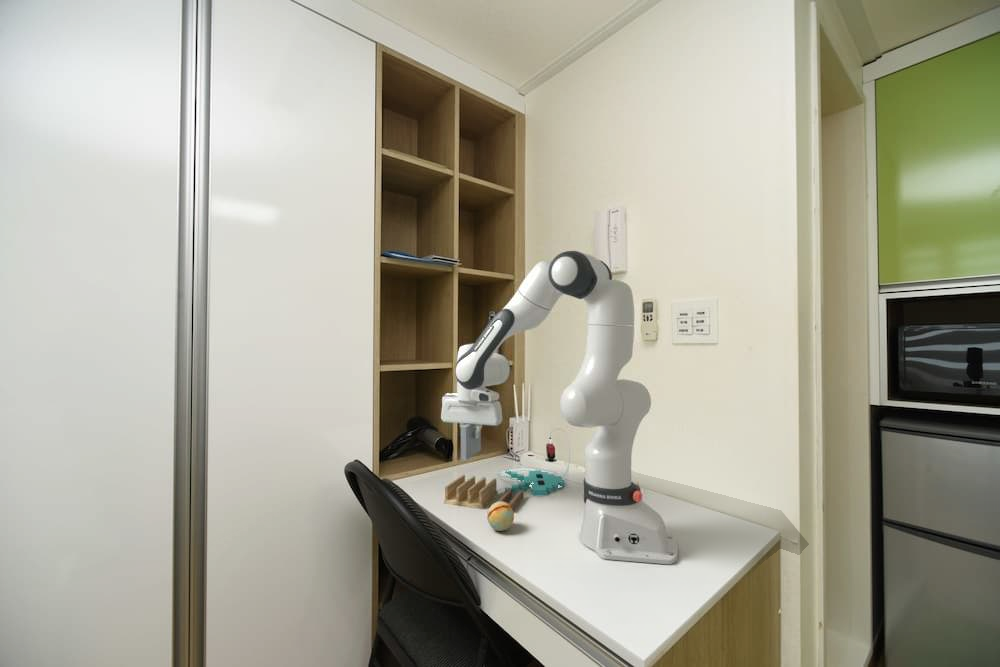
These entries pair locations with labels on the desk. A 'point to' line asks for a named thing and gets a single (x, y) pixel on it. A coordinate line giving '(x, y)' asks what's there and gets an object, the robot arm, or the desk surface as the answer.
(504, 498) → the stand
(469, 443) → the plate
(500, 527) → the ball
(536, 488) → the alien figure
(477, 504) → the rack
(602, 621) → the desk surface
